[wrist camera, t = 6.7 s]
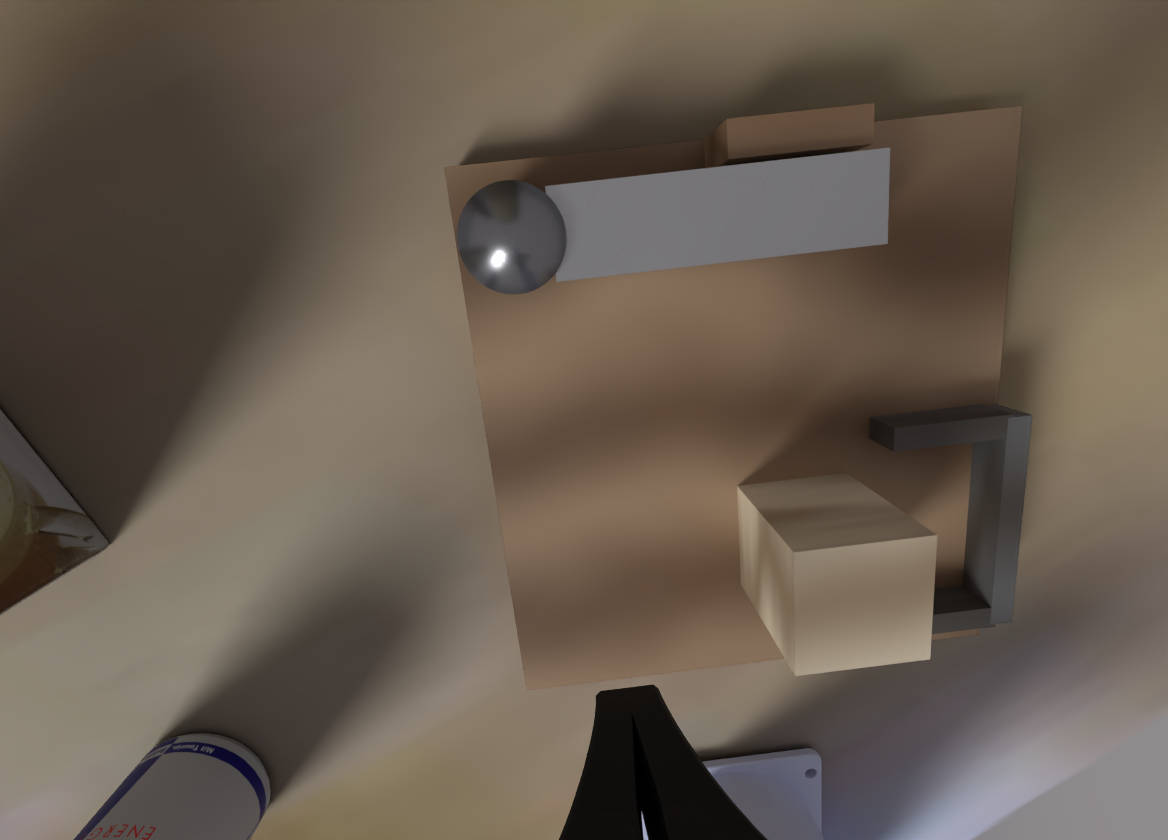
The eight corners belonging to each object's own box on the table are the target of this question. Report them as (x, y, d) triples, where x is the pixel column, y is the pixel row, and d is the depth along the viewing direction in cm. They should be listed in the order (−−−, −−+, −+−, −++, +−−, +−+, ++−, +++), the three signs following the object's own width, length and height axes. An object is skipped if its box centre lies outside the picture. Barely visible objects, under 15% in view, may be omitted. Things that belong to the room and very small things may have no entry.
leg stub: (845, 572, 21) (930, 659, 16) (741, 584, 21) (795, 676, 16) (846, 472, 20) (937, 535, 15) (736, 485, 20) (793, 552, 15)
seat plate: (957, 616, 23) (1027, 676, 20) (528, 669, 23) (523, 739, 20) (993, 116, 19) (1093, 79, 15) (451, 174, 18) (426, 150, 15)
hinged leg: (483, 295, 18) (466, 299, 15) (468, 202, 17) (448, 186, 14) (833, 255, 18) (893, 251, 15) (833, 162, 18) (897, 136, 14)
